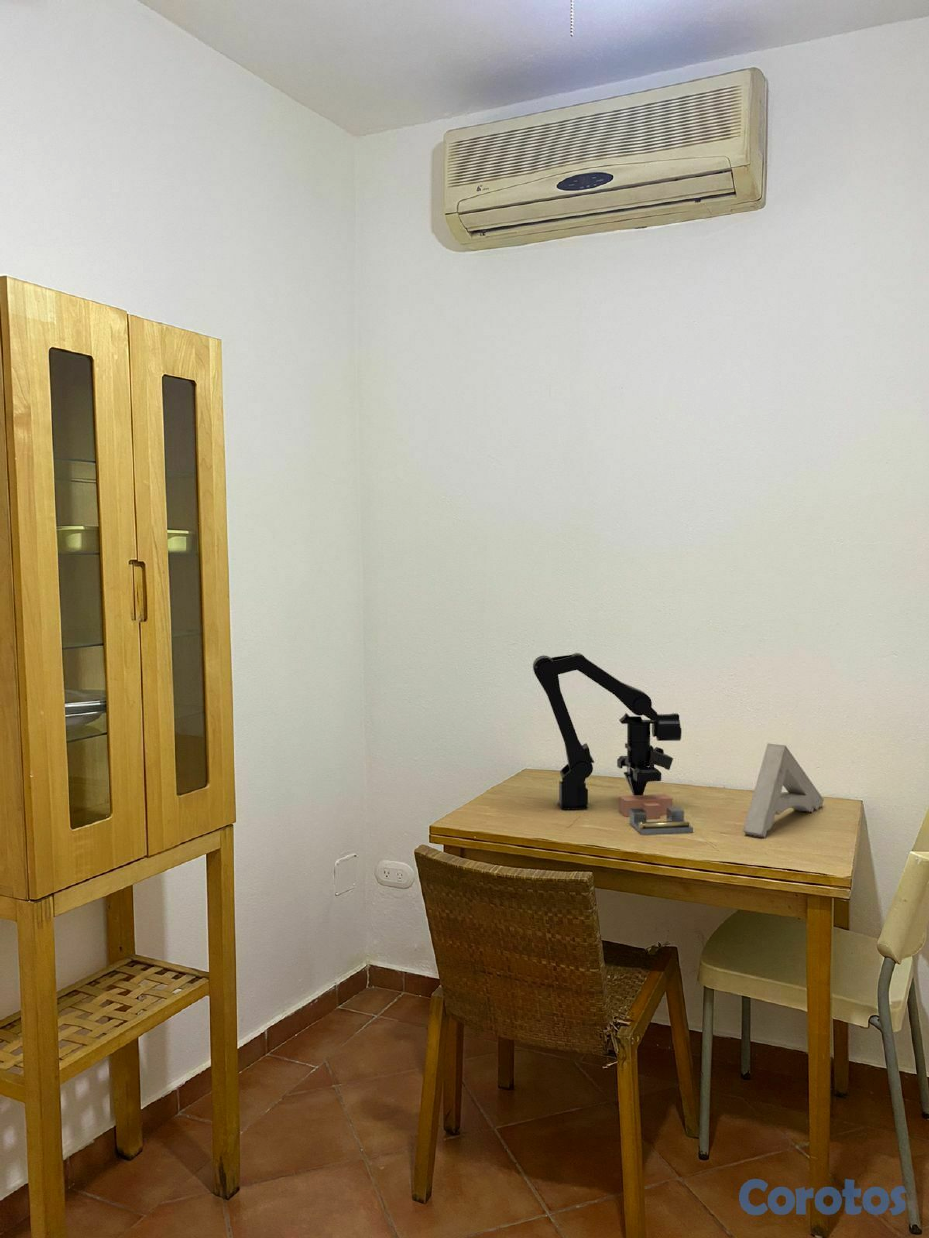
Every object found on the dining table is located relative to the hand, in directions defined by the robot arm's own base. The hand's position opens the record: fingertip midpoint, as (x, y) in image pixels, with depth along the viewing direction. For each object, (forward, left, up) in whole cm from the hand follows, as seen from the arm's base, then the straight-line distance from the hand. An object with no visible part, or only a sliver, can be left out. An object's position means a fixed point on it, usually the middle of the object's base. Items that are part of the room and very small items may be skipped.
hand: (638, 801), depth 250 cm
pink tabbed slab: (0, -8, -1) cm, 8 cm away
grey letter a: (+31, -17, -2) cm, 36 cm away
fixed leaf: (0, -21, -1) cm, 21 cm away
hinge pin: (0, -23, -1) cm, 23 cm away
